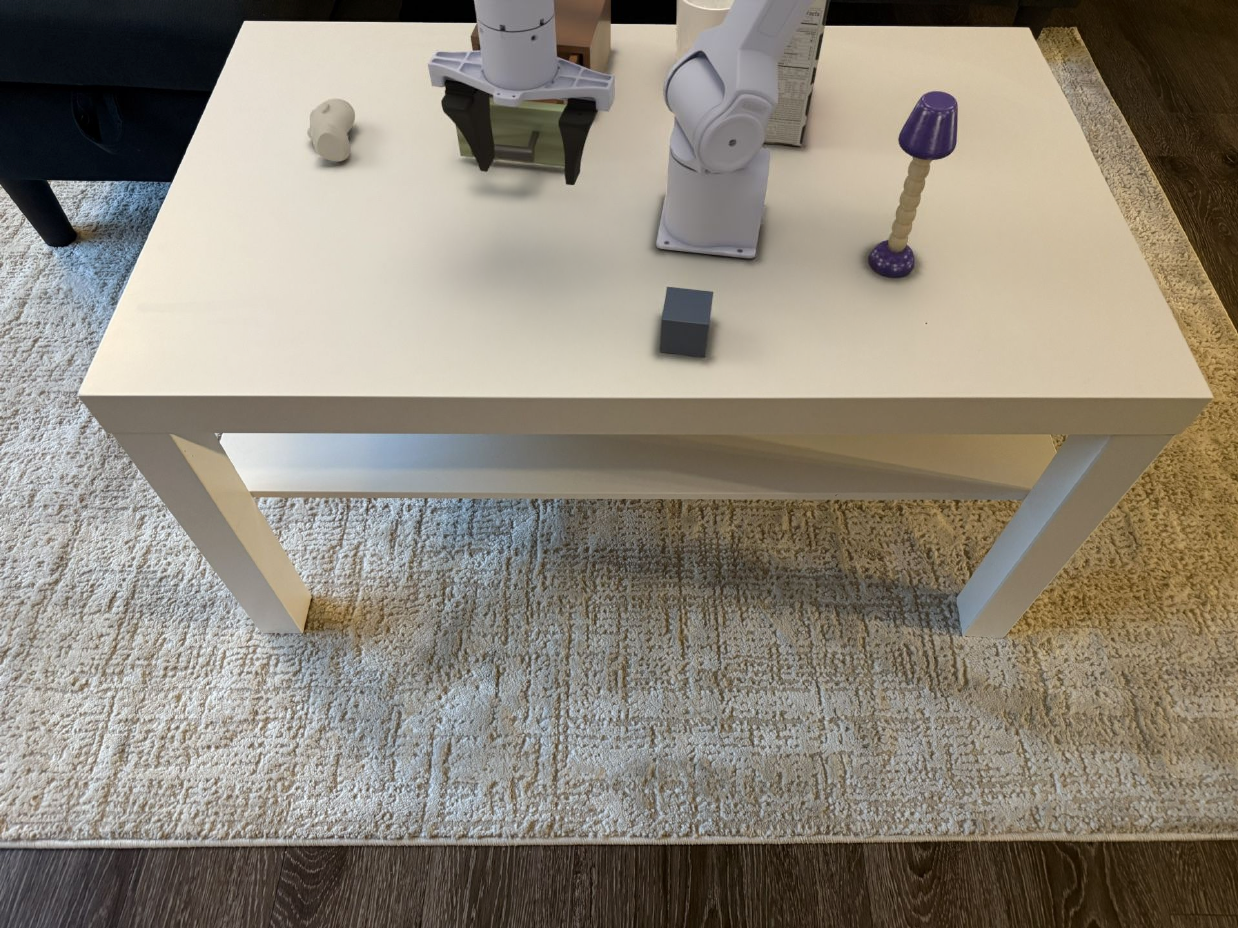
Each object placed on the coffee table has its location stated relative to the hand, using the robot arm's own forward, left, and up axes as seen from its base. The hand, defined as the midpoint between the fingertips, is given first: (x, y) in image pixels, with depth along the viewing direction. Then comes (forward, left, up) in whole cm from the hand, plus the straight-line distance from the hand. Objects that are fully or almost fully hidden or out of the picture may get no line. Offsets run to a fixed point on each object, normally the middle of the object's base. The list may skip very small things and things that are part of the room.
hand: (529, 171), depth 74 cm
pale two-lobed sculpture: (+25, -14, -10) cm, 30 cm away
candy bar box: (-22, -27, -10) cm, 36 cm away
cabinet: (+5, -30, -10) cm, 32 cm away
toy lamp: (-33, -5, -10) cm, 35 cm away
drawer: (+5, -17, -9) cm, 20 cm away
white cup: (-13, -33, -10) cm, 37 cm away
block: (-15, +8, -10) cm, 20 cm away
